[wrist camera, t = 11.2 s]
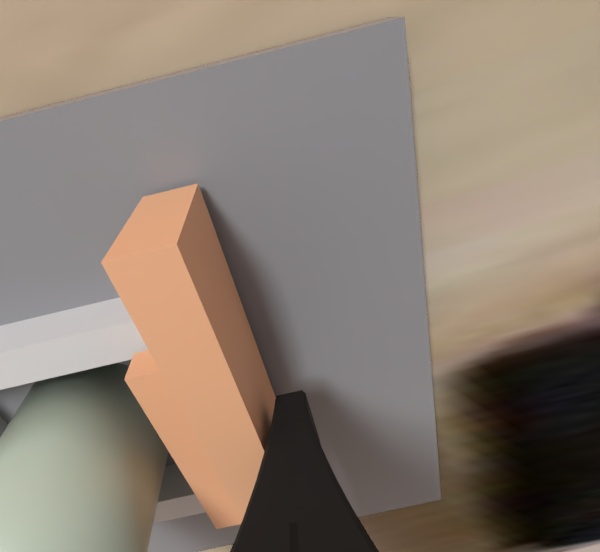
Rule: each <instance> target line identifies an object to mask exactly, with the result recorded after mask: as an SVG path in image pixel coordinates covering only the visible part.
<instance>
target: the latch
mask: <svg viewBox="0 0 600 552" xmlns="http://www.w3.org/2000/svg"><path fill="white" fill-rule="evenodd" d="M101 264H102V265H103V267H104V269H105V271H106V273H107V275H108V276H109V278H110V280H111V282H112V284H113V286H114V287H115V289H116V291H117V293H118V295H119V297H120V298H121V300H122V302H123V304H124V306H125V308H126V309H127V311H128V313H129V315H130V317H131V319H132V320H133V322H134V324H135V326H136V328H137V330H138V331H139V333H140V335H141V337H142V339H143V341H144V342H145V344H146V346H147V348H148V350H146V351H142V352H138V353H134V354H133V357H132V360H131V362H130V365H129V368H128V371H127V373H126V376H125V379H124V380H125V381H126V383H127V385H128V386H129V388H130V390H131V391H132V393H133V394H134V396H135V398H136V399H137V401H138V403H139V404H140V406H141V407H142V409H143V411H144V412H145V414H146V416H147V417H148V419H149V420H150V422H151V424H152V425H153V427H154V429H155V430H156V432H157V433H158V435H159V437H160V438H161V440H162V441H163V443H164V445H165V446H166V448H167V450H168V451H169V453H170V454H171V456H172V458H173V459H174V461H175V463H176V464H177V466H178V467H179V469H180V471H181V472H182V474H183V476H184V477H185V479H186V480H187V482H188V484H189V485H190V487H191V489H192V490H193V492H194V493H195V495H196V497H197V498H198V500H199V502H200V503H201V505H202V506H203V508H204V510H205V511H206V513H207V515H208V516H209V518H210V519H211V521H212V523H213V524H214V526H215V528H216V529H220V528H225V527H230V526H234V525H239V524H241V523H242V520H243V517H244V515H245V512H246V509H247V506H248V503H249V500H250V497H251V494H252V491H253V489H254V486H255V482H256V479H257V476H258V472H259V469H260V465H261V462H262V458H263V455H264V452H265V448H266V444H267V440H268V436H269V432H270V427H271V422H272V417H273V412H274V406H275V399H276V397H275V394H274V391H273V389H272V386H271V383H270V380H269V378H268V375H267V372H266V369H265V367H264V364H263V361H262V358H261V356H260V353H259V350H258V347H257V344H256V342H255V339H254V336H253V333H252V331H251V328H250V325H249V322H248V320H247V317H246V314H245V311H244V309H243V306H242V303H241V300H240V298H239V295H238V292H237V289H236V287H235V284H234V281H233V278H232V275H231V273H230V270H229V267H228V264H227V262H226V259H225V256H224V253H223V251H222V248H221V245H220V242H219V240H218V237H217V234H216V231H215V229H214V226H213V223H212V220H211V217H210V215H209V212H208V209H207V206H206V204H205V201H204V198H203V195H202V193H201V190H200V187H199V184H198V183H197V184H193V185H189V186H185V187H181V188H177V189H173V190H169V191H165V192H161V193H157V194H153V195H149V196H145V197H142V199H141V200H140V202H139V204H138V205H137V207H136V208H135V210H134V211H133V213H132V215H131V216H130V218H129V219H128V221H127V222H126V224H125V226H124V227H123V229H122V230H121V232H120V233H119V235H118V237H117V238H116V240H115V241H114V243H113V244H112V246H111V247H110V249H109V251H108V252H107V254H106V255H105V257H104V258H103V260H102V262H101Z"/></svg>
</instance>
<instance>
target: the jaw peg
mask: <svg viewBox="0 0 600 552" xmlns="http://www.w3.org/2000/svg"><path fill="white" fill-rule="evenodd" d="M128 368H129V366H127V365H125V364H121V363H114V364H110V365H105V366H101V367H97V368H92V369H88V370H84V371H79V372H75V373H71V374H67V375H62V376H58V377H54V378H49V379H45V380H41V381H36V382H35V383H34V384H33V386H32V387H31V389H30V390H29V392H28V394H27V395H26V397H25V398H24V400H23V402H22V403H21V405H20V406H19V408H18V410H17V411H16V413H15V414H14V416H13V418H12V419H11V421H10V422H9V424H8V426H7V427H6V429H5V430H4V432H3V434H2V435H1V437H0V552H147V551H148V546H149V542H150V537H151V532H152V527H153V522H154V518H155V513H156V508H157V503H158V499H159V494H160V489H161V484H162V480H163V475H164V470H165V465H166V461H167V456H168V450H167V448H166V446H165V445H164V443H163V441H162V440H161V438H160V437H159V435H158V433H157V432H156V430H155V429H154V427H153V425H152V424H151V422H150V420H149V419H148V417H147V416H146V414H145V412H144V411H143V409H142V407H141V406H140V404H139V403H138V401H137V399H136V398H135V396H134V394H133V393H132V391H131V390H130V388H129V386H128V385H127V383H126V381H125V380H124V379H125V376H126V373H127V371H128Z"/></svg>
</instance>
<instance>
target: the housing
mask: <svg viewBox="0 0 600 552" xmlns="http://www.w3.org/2000/svg"><path fill="white" fill-rule="evenodd" d="M197 183H198V184H199V187H200V190H201V193H202V195H203V198H204V201H205V204H206V206H207V209H208V212H209V215H210V217H211V220H212V223H213V226H214V229H215V231H216V234H217V237H218V240H219V242H220V245H221V248H222V251H223V253H224V256H225V259H226V262H227V264H228V267H229V270H230V273H231V275H232V278H233V281H234V284H235V287H236V289H237V292H238V295H239V298H240V300H241V303H242V306H243V309H244V311H245V314H246V317H247V320H248V322H249V325H250V328H251V331H252V333H253V336H254V339H255V342H256V344H257V347H258V350H259V353H260V356H261V358H262V361H263V364H264V367H265V369H266V372H267V375H268V378H269V380H270V383H271V386H272V389H273V391H274V394H275V397H276V396H278V395H282V394H287V393H291V392H295V391H300V390H303V392H305V393H306V396H307V400H308V403H309V406H310V409H311V413H312V416H313V419H314V423H315V426H316V429H317V432H318V436H319V439H320V444H321V447H322V449H323V451H324V453H325V456H326V458H327V460H328V462H329V464H330V466H331V469H332V471H333V473H334V475H335V477H336V479H337V481H338V482H339V484H340V486H341V488H342V490H343V492H344V494H345V495H346V497H347V499H348V501H349V503H350V505H351V506H352V508H353V510H354V512H355V513H356V515H357V517H362V516H367V515H372V514H377V513H381V512H386V511H391V510H395V509H400V508H405V507H409V506H414V505H419V504H424V503H428V502H433V501H438V500H441V488H440V475H439V462H438V449H437V436H436V423H435V410H434V397H433V383H432V370H431V357H430V344H429V331H428V318H427V305H426V292H425V279H424V265H423V252H422V239H421V226H420V213H419V200H418V187H417V174H416V161H415V147H414V134H413V121H412V108H411V95H410V82H409V69H408V56H407V43H406V29H405V17H389V18H385V19H381V20H377V21H373V22H370V23H366V24H362V25H358V26H354V27H350V28H346V29H342V30H339V31H335V32H331V33H327V34H323V35H319V36H315V37H311V38H308V39H304V40H300V41H296V42H292V43H288V44H284V45H280V46H276V47H273V48H269V49H265V50H261V51H257V52H253V53H249V54H245V55H242V56H238V57H234V58H230V59H226V60H222V61H218V62H214V63H211V64H207V65H203V66H199V67H195V68H191V69H187V70H183V71H179V72H176V73H172V74H168V75H164V76H160V77H156V78H152V79H148V80H145V81H141V82H137V83H133V84H129V85H125V86H121V87H117V88H114V89H110V90H106V91H102V92H98V93H94V94H90V95H86V96H82V97H79V98H75V99H71V100H67V101H63V102H59V103H55V104H51V105H48V106H44V107H40V108H36V109H32V110H28V111H24V112H20V113H17V114H13V115H9V116H5V117H1V118H0V437H1V435H2V434H3V432H4V430H5V429H6V427H7V426H8V424H9V422H10V421H11V419H12V418H13V416H14V414H15V413H16V411H17V410H18V408H19V406H20V405H21V403H22V402H23V400H24V398H25V397H26V395H27V394H28V392H29V390H30V389H31V387H32V386H33V384H34V383H35V382H36V381H41V380H45V379H49V378H54V377H58V376H62V375H67V374H71V373H75V372H79V371H84V370H88V369H92V368H97V367H101V366H105V365H110V364H114V363H121V364H125V365H127V366H129V365H130V362H131V360H132V357H133V354H134V353H138V352H142V351H146V350H148V348H147V346H146V344H145V342H144V341H143V339H142V337H141V335H140V333H139V331H138V330H137V328H136V326H135V324H134V322H133V320H132V319H131V317H130V315H129V313H128V311H127V309H126V308H125V306H124V304H123V302H122V300H121V298H120V297H119V295H118V293H117V291H116V289H115V287H114V286H113V284H112V282H111V280H110V278H109V276H108V275H107V273H106V271H105V269H104V267H103V265H102V264H101V262H102V260H103V258H104V257H105V255H106V254H107V252H108V251H109V249H110V247H111V246H112V244H113V243H114V241H115V240H116V238H117V237H118V235H119V233H120V232H121V230H122V229H123V227H124V226H125V224H126V222H127V221H128V219H129V218H130V216H131V215H132V213H133V211H134V210H135V208H136V207H137V205H138V204H139V202H140V200H141V199H142V197H145V196H149V195H153V194H157V193H161V192H165V191H169V190H173V189H177V188H181V187H185V186H189V185H193V184H197ZM240 526H241V524H239V525H234V526H230V527H225V528H220V529H216V528H215V526H214V524H213V523H212V521H211V519H210V518H209V516H208V515H207V513H206V511H205V510H204V508H203V506H202V505H201V503H200V502H199V500H198V498H197V497H196V495H195V493H194V492H193V490H192V489H191V487H190V485H189V484H188V482H187V480H186V479H185V477H184V476H183V474H182V472H181V471H180V469H179V467H178V466H177V464H176V463H175V461H174V459H173V458H172V456H171V454H170V453H169V451H168V456H167V461H166V465H165V470H164V475H163V480H162V484H161V489H160V494H159V499H158V503H157V508H156V513H155V518H154V522H153V527H152V532H151V537H150V542H149V546H148V551H147V552H198V551H202V550H207V549H212V548H216V547H221V546H226V545H231V544H234V541H235V539H236V536H237V533H238V531H239V528H240Z"/></svg>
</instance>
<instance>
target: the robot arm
mask: <svg viewBox="0 0 600 552" xmlns="http://www.w3.org/2000/svg"><path fill="white" fill-rule="evenodd" d="M230 552H379V551H378V550H377V548H376V547H375V545H374V543H373V542H372V540H371V538H370V537H369V535H368V534H367V532H366V530H365V529H364V527H363V525H362V524H361V522H360V520H359V519H358V517H357V515H356V513H355V512H354V510H353V508H352V506H351V505H350V503H349V501H348V499H347V497H346V495H345V494H344V492H343V490H342V488H341V486H340V484H339V482H338V481H337V479H336V477H335V475H334V473H333V471H332V469H331V466H330V464H329V462H328V460H327V458H326V456H325V453H324V451H323V449H322V447H321V444H320V439H319V436H318V432H317V429H316V426H315V423H314V419H313V416H312V413H311V409H310V406H309V403H308V400H307V396H306V393H305V392H303V390H300V391H295V392H291V393H287V394H282V395H278V396H276V399H275V406H274V412H273V417H272V422H271V427H270V432H269V436H268V440H267V444H266V448H265V452H264V455H263V458H262V462H261V465H260V469H259V472H258V476H257V479H256V482H255V486H254V489H253V491H252V494H251V497H250V500H249V503H248V506H247V509H246V512H245V515H244V517H243V520H242V523H241V526H240V528H239V531H238V533H237V536H236V539H235V541H234V544H233V546H232V549H231V551H230Z"/></svg>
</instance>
